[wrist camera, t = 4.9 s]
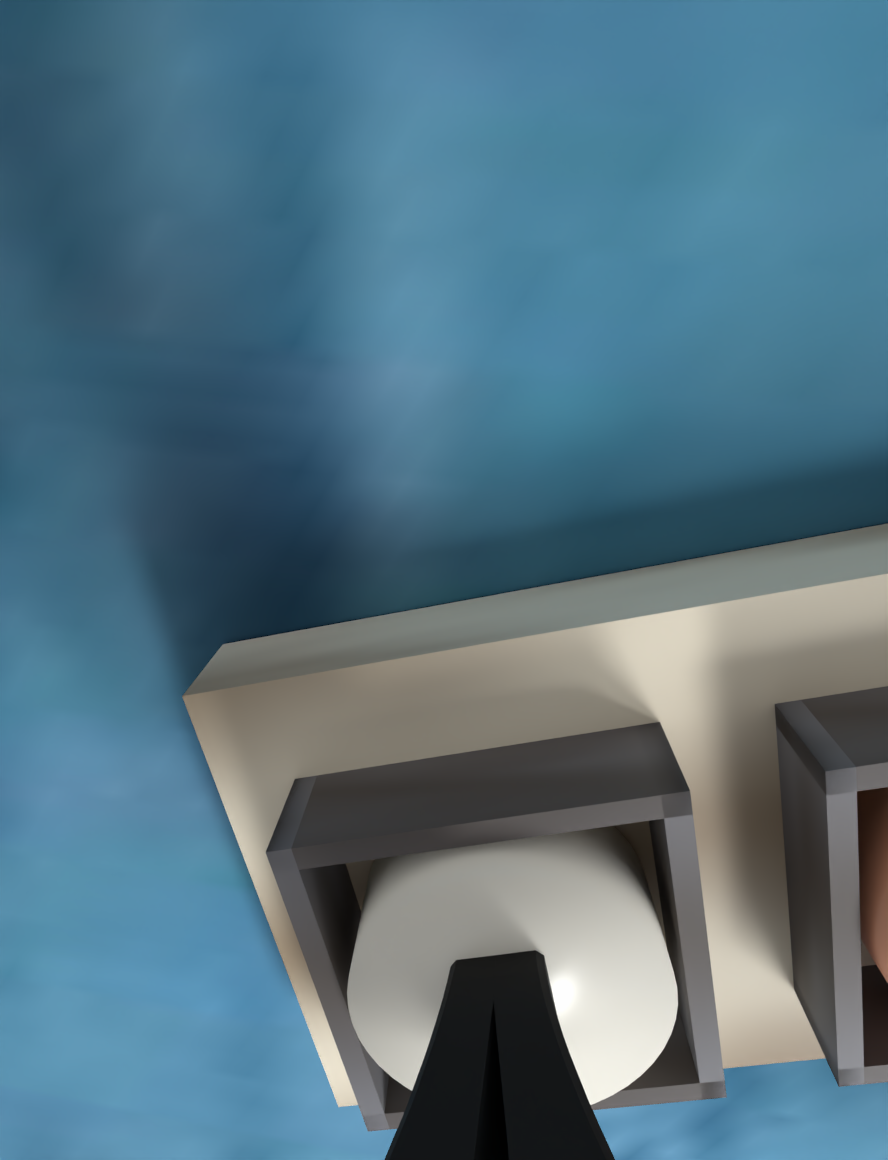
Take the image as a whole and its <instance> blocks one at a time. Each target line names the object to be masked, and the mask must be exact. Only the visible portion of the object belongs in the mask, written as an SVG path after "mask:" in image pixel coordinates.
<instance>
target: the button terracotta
mask: <svg viewBox="0 0 888 1160" xmlns="http://www.w3.org/2000/svg"><path fill="white" fill-rule="evenodd" d="M857 817H858V856H859V894H860V933H861V940H862V942H863V943H864V945H865V947H866V948H867V950H868V952H869V953H870V955H871V957H872V958H873V960H874V962H875V963H876V965H877V967H878V968H879V970H880V971H881V973H882V975H883V976H884V978H885V980H886V981H887V983H888V787H885V788H877V789H870V790H863V791H857Z"/></svg>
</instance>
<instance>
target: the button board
mask: <svg viewBox="0 0 888 1160" xmlns="http://www.w3.org/2000/svg"><path fill="white" fill-rule="evenodd" d="M182 697H183V700H184V702H185V705H186V708H187V710H188V713H189V715H190V718H191V721H192V723H193V726H194V729H195V731H196V734H197V736H198V739H199V742H200V744H201V747H202V750H203V752H204V755H205V757H206V760H207V763H208V765H209V768H210V771H211V773H212V776H213V778H214V781H215V784H216V786H217V789H218V792H219V794H220V797H221V799H222V802H223V805H224V807H225V810H226V813H227V815H228V818H229V820H230V823H231V826H232V828H233V831H234V834H235V836H236V839H237V841H238V844H239V847H240V849H241V852H242V855H243V857H244V860H245V862H246V865H247V868H248V870H249V873H250V876H251V878H252V881H253V883H254V886H255V889H256V891H257V894H258V896H259V899H260V902H261V904H262V907H263V910H264V912H265V915H266V917H267V920H268V923H269V925H270V928H271V931H272V933H273V936H274V938H275V941H276V944H277V946H278V949H279V952H280V954H281V957H282V959H283V962H284V965H285V967H286V970H287V973H288V975H289V978H290V980H291V983H292V986H293V988H294V991H295V994H296V996H297V999H298V1001H299V1004H300V1007H301V1009H302V1012H303V1015H304V1017H305V1020H306V1022H307V1025H308V1028H309V1030H310V1033H311V1036H312V1038H313V1041H314V1043H315V1046H316V1049H317V1051H318V1054H319V1057H320V1059H321V1062H322V1064H323V1067H324V1070H325V1072H326V1075H327V1078H328V1080H329V1083H330V1085H331V1088H332V1091H333V1093H334V1096H335V1099H336V1101H337V1104H338V1106H339V1107H342V1106H352V1105H358V1106H359V1108H360V1111H361V1114H362V1116H363V1119H364V1122H365V1125H366V1127H367V1130H368V1131H377V1130H388V1129H398V1126H399V1124H400V1122H401V1119H402V1117H403V1114H404V1112H405V1109H406V1106H407V1104H408V1101H409V1098H410V1096H411V1093H412V1091H411V1090H410V1089H408V1088H406V1087H405V1086H403V1085H402V1084H400V1083H399V1082H398V1081H396V1080H395V1079H393V1078H392V1077H391V1076H390V1075H389V1074H388V1073H386V1072H385V1071H384V1070H383V1069H382V1068H381V1067H380V1066H379V1065H378V1064H377V1063H376V1062H375V1061H374V1059H373V1058H372V1057H371V1056H370V1055H369V1054H368V1052H367V1051H366V1049H365V1048H364V1046H363V1044H362V1043H361V1041H360V1040H359V1038H358V1036H357V1033H356V1031H355V1029H354V1027H353V1024H352V1021H351V1017H350V1013H349V1009H348V999H347V988H348V977H349V972H350V967H351V962H352V957H353V952H354V947H355V942H356V937H357V932H358V927H359V922H360V917H361V912H362V907H363V902H364V897H365V892H366V887H367V882H368V878H369V874H370V870H371V867H372V864H373V862H374V860H375V859H380V858H388V857H395V856H402V855H409V854H416V853H423V852H430V851H437V850H444V849H451V848H459V847H466V846H473V845H480V844H487V843H494V842H501V841H508V840H515V839H522V838H530V837H537V836H544V835H551V834H558V833H565V832H572V831H579V830H586V829H593V828H601V827H608V826H614V827H615V828H616V829H617V830H618V831H619V832H620V833H621V834H622V835H623V836H624V838H625V839H626V840H627V841H628V842H629V843H630V845H631V846H632V848H633V850H634V851H635V853H636V855H637V856H638V858H639V860H640V863H641V865H642V867H643V870H644V872H645V876H646V879H647V882H648V886H649V889H650V893H651V896H652V900H653V903H654V906H655V910H656V913H657V917H658V920H659V923H660V927H661V930H662V934H663V937H664V940H665V944H666V947H667V951H668V954H669V958H670V961H671V964H672V968H673V971H674V975H675V980H676V984H677V992H678V1008H677V1015H676V1021H675V1024H674V1027H673V1030H672V1033H671V1036H670V1038H669V1040H668V1042H667V1044H666V1046H665V1047H664V1049H663V1051H662V1052H661V1053H660V1055H659V1056H658V1058H657V1059H656V1060H655V1062H654V1063H653V1064H652V1065H651V1066H650V1067H649V1068H648V1069H647V1070H646V1071H645V1072H644V1073H643V1074H642V1075H641V1076H640V1077H639V1078H637V1079H636V1080H635V1081H633V1082H632V1083H631V1084H630V1085H628V1086H627V1087H625V1088H624V1089H622V1090H620V1091H619V1092H617V1093H615V1094H614V1095H612V1096H610V1097H608V1098H606V1099H603V1100H601V1101H599V1102H597V1103H595V1104H592V1105H591V1108H592V1110H598V1109H608V1108H619V1107H629V1106H640V1105H650V1104H661V1103H671V1102H682V1101H692V1100H703V1099H714V1098H724V1097H726V1089H725V1080H724V1072H723V1068H733V1067H743V1066H753V1065H763V1064H773V1063H783V1062H793V1061H803V1060H813V1059H823V1058H826V1060H827V1062H828V1064H829V1066H830V1068H831V1071H832V1073H833V1075H834V1077H835V1079H836V1081H837V1084H838V1086H839V1087H840V1086H850V1085H861V1084H871V1083H882V1082H888V983H887V981H886V980H885V978H884V976H883V975H882V973H881V971H880V970H879V968H878V967H877V965H876V963H875V962H874V960H873V958H872V957H871V955H870V953H869V952H868V950H867V948H866V947H865V945H864V943H863V942H862V940H861V933H860V894H859V856H858V817H857V791H863V790H870V789H877V788H885V787H888V523H887V524H882V525H876V526H871V527H865V528H860V529H854V530H849V531H843V532H838V533H832V534H827V535H821V536H816V537H810V538H805V539H799V540H794V541H788V542H783V543H777V544H772V545H766V546H761V547H755V548H750V549H744V550H739V551H733V552H728V553H722V554H717V555H711V556H706V557H700V558H695V559H689V560H684V561H678V562H673V563H667V564H662V565H656V566H651V567H645V568H640V569H634V570H629V571H623V572H618V573H612V574H607V575H601V576H596V577H590V578H585V579H579V580H574V581H568V582H563V583H557V584H552V585H546V586H541V587H535V588H530V589H524V590H519V591H513V592H508V593H502V594H497V595H491V596H486V597H480V598H475V599H469V600H464V601H458V602H453V603H447V604H442V605H436V606H431V607H425V608H420V609H414V610H409V611H403V612H398V613H392V614H387V615H381V616H376V617H370V618H364V619H359V620H353V621H348V622H342V623H337V624H331V625H326V626H320V627H315V628H309V629H304V630H298V631H293V632H287V633H282V634H276V635H271V636H265V637H260V638H254V639H249V640H243V641H238V642H232V643H227V644H223V645H222V646H221V647H220V648H219V650H218V651H217V652H216V654H215V655H214V656H213V657H212V659H211V660H210V661H209V663H208V664H207V665H206V666H205V668H204V669H203V670H202V672H201V673H200V674H199V675H198V677H197V678H196V679H195V681H194V682H193V683H192V684H191V686H190V687H189V688H188V690H187V691H186V692H185V693H184V695H183V696H182Z"/></svg>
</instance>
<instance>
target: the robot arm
mask: <svg viewBox="0 0 888 1160" xmlns="http://www.w3.org/2000/svg"><path fill="white" fill-rule="evenodd" d="M385 1160H615V1159H614V1157H613V1154H612V1152H611V1150H610V1148H609V1146H608V1144H607V1141H606V1139H605V1137H604V1135H603V1133H602V1130H601V1128H600V1126H599V1124H598V1122H597V1119H596V1117H595V1115H594V1112H593V1110H592V1108H591V1105H590V1103H589V1101H588V1098H587V1096H586V1093H585V1091H584V1088H583V1086H582V1083H581V1081H580V1078H579V1076H578V1073H577V1071H576V1068H575V1066H574V1063H573V1061H572V1058H571V1055H570V1053H569V1050H568V1047H567V1044H566V1042H565V1039H564V1036H563V1033H562V1030H561V1027H560V1023H559V1020H558V1016H557V1012H556V1007H555V1003H554V998H553V994H552V989H551V984H550V980H549V975H548V971H547V966H546V962H545V957H544V955H543V954H541V953H539V952H538V951H536V950H533V951H525V952H517V953H509V954H501V955H493V956H485V957H477V958H468V959H460V960H456V961H455V962H454V963H453V964H452V965H451V967H450V971H449V976H448V980H447V984H446V988H445V991H444V995H443V999H442V1003H441V1006H440V1010H439V1013H438V1016H437V1020H436V1023H435V1026H434V1029H433V1032H432V1035H431V1039H430V1042H429V1045H428V1048H427V1051H426V1054H425V1057H424V1059H423V1062H422V1065H421V1068H420V1070H419V1073H418V1076H417V1079H416V1082H415V1084H414V1087H413V1090H412V1093H411V1096H410V1098H409V1101H408V1104H407V1106H406V1109H405V1112H404V1114H403V1117H402V1119H401V1122H400V1124H399V1126H398V1129H397V1131H396V1134H395V1136H394V1138H393V1141H392V1143H391V1146H390V1148H389V1150H388V1153H387V1155H386V1158H385Z"/></svg>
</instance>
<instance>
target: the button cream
mask: <svg viewBox="0 0 888 1160" xmlns="http://www.w3.org/2000/svg"><path fill="white" fill-rule="evenodd" d="M533 950H536V951H538V952H539V953H541V954H543V955H544V957H545V962H546V966H547V971H548V975H549V980H550V984H551V989H552V994H553V998H554V1003H555V1007H556V1012H557V1016H558V1020H559V1023H560V1027H561V1030H562V1033H563V1036H564V1039H565V1042H566V1044H567V1047H568V1050H569V1053H570V1055H571V1058H572V1061H573V1063H574V1066H575V1068H576V1071H577V1073H578V1076H579V1078H580V1081H581V1083H582V1086H583V1088H584V1091H585V1093H586V1096H587V1098H588V1101H589V1103H590V1105H592V1104H595V1103H597V1102H599V1101H601V1100H603V1099H606V1098H608V1097H610V1096H612V1095H614V1094H615V1093H617V1092H619V1091H620V1090H622V1089H624V1088H625V1087H627V1086H628V1085H630V1084H631V1083H632V1082H633V1081H635V1080H636V1079H637V1078H639V1077H640V1076H641V1075H642V1074H643V1073H644V1072H645V1071H646V1070H647V1069H648V1068H649V1067H650V1066H651V1065H652V1064H653V1063H654V1062H655V1060H656V1059H657V1058H658V1056H659V1055H660V1053H661V1052H662V1051H663V1049H664V1047H665V1046H666V1044H667V1042H668V1040H669V1038H670V1036H671V1033H672V1030H673V1027H674V1024H675V1021H676V1015H677V1008H678V992H677V984H676V980H675V975H674V971H673V968H672V964H671V961H670V958H669V954H668V951H667V947H666V944H665V940H664V937H663V934H662V930H661V927H660V923H659V920H658V917H657V913H656V910H655V906H654V903H653V900H652V896H651V893H650V889H649V886H648V882H647V879H646V876H645V872H644V870H643V867H642V865H641V863H640V860H639V858H638V856H637V855H636V853H635V851H634V850H633V848H632V846H631V845H630V843H629V842H628V841H627V840H626V839H625V838H624V836H623V835H622V834H621V833H620V832H619V831H618V830H617V829H616V828H615V827H614V826H608V827H601V828H593V829H586V830H579V831H572V832H565V833H558V834H551V835H544V836H537V837H530V838H522V839H515V840H508V841H501V842H494V843H487V844H480V845H473V846H466V847H459V848H451V849H444V850H437V851H430V852H423V853H416V854H409V855H402V856H395V857H388V858H380V859H375V860H374V862H373V864H372V867H371V870H370V874H369V878H368V882H367V887H366V892H365V897H364V902H363V907H362V912H361V917H360V922H359V927H358V932H357V937H356V942H355V947H354V952H353V957H352V962H351V967H350V972H349V977H348V988H347V999H348V1009H349V1013H350V1017H351V1021H352V1024H353V1027H354V1029H355V1031H356V1033H357V1036H358V1038H359V1040H360V1041H361V1043H362V1044H363V1046H364V1048H365V1049H366V1051H367V1052H368V1054H369V1055H370V1056H371V1057H372V1058H373V1059H374V1061H375V1062H376V1063H377V1064H378V1065H379V1066H380V1067H381V1068H382V1069H383V1070H384V1071H385V1072H386V1073H388V1074H389V1075H390V1076H391V1077H392V1078H393V1079H395V1080H396V1081H398V1082H399V1083H400V1084H402V1085H403V1086H405V1087H406V1088H408V1089H410V1090H411V1091H412V1090H413V1087H414V1084H415V1082H416V1079H417V1076H418V1073H419V1070H420V1068H421V1065H422V1062H423V1059H424V1057H425V1054H426V1051H427V1048H428V1045H429V1042H430V1039H431V1035H432V1032H433V1029H434V1026H435V1023H436V1020H437V1016H438V1013H439V1010H440V1006H441V1003H442V999H443V995H444V991H445V988H446V984H447V980H448V976H449V971H450V967H451V965H452V964H453V963H454V962H455V961H456V960H460V959H468V958H477V957H485V956H493V955H501V954H509V953H517V952H525V951H533Z"/></svg>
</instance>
